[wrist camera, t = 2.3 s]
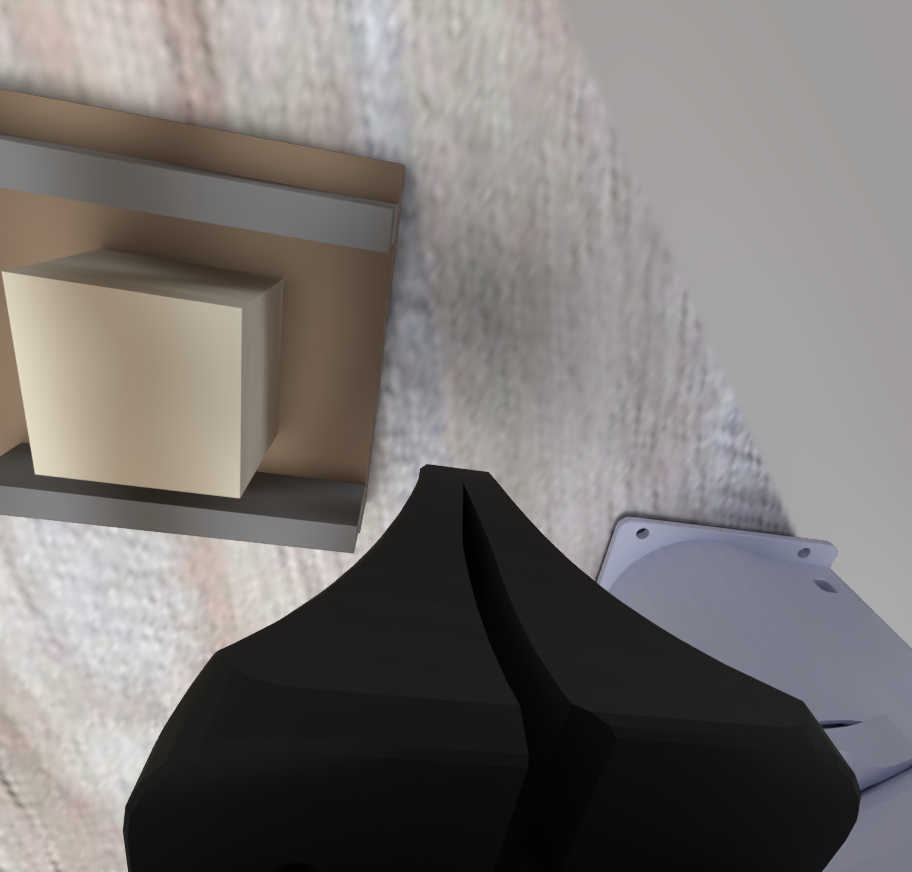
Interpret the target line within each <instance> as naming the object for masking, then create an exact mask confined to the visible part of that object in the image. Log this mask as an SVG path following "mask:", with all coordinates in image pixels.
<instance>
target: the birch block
mask: <svg viewBox="0 0 912 872" xmlns="http://www.w3.org/2000/svg"><path fill="white" fill-rule="evenodd" d="M2 277H3V283H4V289H5V295H6V301H7V308H8V314H9V320H10V326H11V332H12V338H13V344H14V350H15V356H16V362H17V368H18V374H19V380H20V386H21V392H22V399H23V405H24V411H25V417H26V423H27V429H28V435H29V441H30V447H31V453H32V459H33V465H34V471H35V474H37V475H45V476H54V477H62V478H71V479H79V480H88V481H96V482H105V483H113V484H122V485H130V486H139V487H147V488H156V489H164V490H173V491H181V492H190V493H198V494H207V495H215V496H224V497H232V498H241V496H242V494H243V492H244V491H245V489H246V487H247V485H248V484H249V482H250V480H251V479H252V477H253V475H254V473H255V472H256V470H257V468H258V467H259V465H260V463H261V461H262V460H263V458H264V456H265V455H266V453H267V451H268V449H269V448H270V446H271V444H272V442H273V441H274V439H275V437H276V436H277V434H278V410H279V385H280V360H281V335H282V310H283V285H284V278H279V277H273V276H267V275H261V274H255V273H248V272H242V271H236V270H230V269H224V268H217V267H211V266H205V265H199V264H193V263H186V262H180V261H174V260H168V259H162V258H155V257H149V256H143V255H137V254H131V253H124V252H118V251H112V250H106V249H97V250H93V251H88V252H84V253H80V254H75V255H71V256H67V257H62V258H58V259H54V260H49V261H45V262H40V263H36V264H32V265H27V266H23V267H19V268H14V269H10V270H5V271H2Z"/></svg>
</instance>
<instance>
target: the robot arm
mask: <svg viewBox="0 0 912 872" xmlns="http://www.w3.org/2000/svg"><path fill="white" fill-rule="evenodd" d="M641 528H646V529H645V530H644V532H642V533H637V531H638V530H639V529H641ZM803 548H804V549H803ZM801 549H803V550H802V551H800V550H801ZM799 551H800V552H799ZM836 556H837V549H836V547H835V546H834V545H832V544H831V543H830V542H828V541H823V540H815V539H807V538H799V537H791V536H783V535H775V534H767V533H758V532H750V531H742V530H734V529H726V528H718V527H710V526H702V525H694V524H685V523H677V522H669V521H661V520H653V519H645V518H637V517H626V518H623V519H621V520H620V521H619V522H618V523H617V525H616V527H615V530H614V533H613V536H612V539H611V542H610V545H609V548H608V551H607V554H606V557H605V559H604V562H603V565H602V568H601V571H600V574H599V577H598V580H597V583H596V582H595V581H594V580H593V579H592V578H590V577H589V576H588V575H587V574H585V573H584V572H583V571H582V570H580V569H579V568H578V567H577V566H576V565H575V564H573V563H572V562H571V561H570V560H569V559H568V558H567V557H566V556H565V555H564V554H563V553H562V552H560V551H559V550H558V549H557V548H556V547H555V546H554V545H553V544H552V543H551V542H550V541H549V540H548V539H547V538H546V537H545V536H544V535H543V534H542V533H541V532H540V531H539V530H538V529H537V528H536V527H535V525H534V524H533V523H532V522H531V521H530V520H529V519H528V518H527V517H526V516H525V514H524V513H523V512H522V511H521V510H520V509H519V508H518V506H517V505H516V504H515V503H514V502H513V501H512V499H511V498H510V497H509V496H508V495H507V493H506V492H505V491H504V490H503V489H502V487H501V486H500V485H499V484H498V482H497V481H496V480H495V479H494V478H493V477H492V475H491V474H490V473H489V472H483V471H476V470H468V469H460V468H452V467H445V466H437V465H429V464H426V465H425V466H423V467H422V468H420V473H419V479H418V482H417V484H416V486H415V488H414V490H413V492H412V494H411V496H410V497H409V499H408V501H407V502H406V504H405V505H404V507H403V509H402V510H401V512H400V513H399V515H398V516H397V517H396V519H395V520H394V521H393V523H392V524H391V525H390V526H389V528H388V529H387V530H386V531H385V533H384V534H383V535H382V537H381V538H380V539H379V540H378V541H377V542H376V543H375V544H374V546H373V547H372V548H371V549H370V550H369V551H368V552H367V553H366V554H365V555H364V556H363V557H362V558H361V559H360V560H359V561H358V562H357V563H356V564H355V565H354V566H352V567H351V568H350V569H349V570H348V571H347V572H345V573H344V574H343V575H342V576H341V577H340V578H338V579H337V580H336V581H335V582H334V583H333V584H331V585H330V586H329V587H327V588H326V589H325V590H323V591H322V592H321V593H319V594H318V595H317V596H315V597H314V598H312V599H311V600H309V601H308V602H306V603H305V604H303V605H302V606H300V607H299V608H297V609H296V610H294V611H293V612H291V613H290V614H288V615H287V616H285V617H284V618H282V619H280V620H279V621H277V622H275V623H273V624H271V625H269V626H267V627H265V628H263V629H262V630H260V631H258V632H256V633H254V634H252V635H250V636H248V637H246V638H244V639H242V640H240V641H238V642H236V643H234V644H232V645H229V646H227V647H225V648H223V649H221V650H219V651H217V652H216V653H215V654H214V655H213V656H212V657H211V659H210V660H209V661H208V663H207V664H206V665H205V667H204V668H203V669H202V671H201V672H200V674H199V675H198V676H197V678H196V679H195V680H194V682H193V683H192V684H191V686H190V687H189V689H188V690H187V692H186V694H185V695H184V697H183V698H182V700H181V701H180V703H179V704H178V706H177V707H176V709H175V710H174V712H173V713H172V715H171V717H170V718H169V720H168V722H167V723H166V725H165V726H164V728H163V730H162V732H161V733H160V735H159V737H158V739H157V741H156V743H155V745H154V747H153V749H152V751H151V753H150V755H149V757H148V760H147V762H146V764H145V766H144V768H143V770H142V772H141V774H140V776H139V779H138V781H137V783H136V785H135V787H134V789H133V791H132V793H131V796H130V798H129V800H128V802H127V804H126V806H125V816H124V826H123V835H124V843H125V850H126V858H127V866H128V872H912V648H910V647H909V645H908V644H907V643H906V642H904V641H903V640H902V639H901V638H900V637H899V636H898V635H897V634H896V633H895V632H894V631H893V630H892V629H891V628H890V627H889V626H888V625H887V624H886V623H885V622H884V621H883V620H882V619H881V618H880V617H879V616H878V615H877V614H876V613H875V612H874V611H873V610H872V609H871V608H870V607H869V606H868V605H867V604H866V603H865V602H864V601H863V600H862V599H861V598H860V597H859V596H858V595H857V594H856V593H855V592H854V591H853V590H852V589H851V588H849V586H848V585H847V584H845V583H844V582H843V581H842V580H841V579H840V578H839V577H838V576H837V575H836V574H835V573H834V572H833V571H832V570H831V569H830V567H831V565H832V563H833V562H834V559H835V558H836Z"/></svg>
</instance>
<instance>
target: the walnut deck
mask: <svg viewBox="0 0 912 872" xmlns="http://www.w3.org/2000/svg"><path fill="white" fill-rule="evenodd" d="M405 167H406V166H405V165H402V164H397V163H392V162H386V161H381V160H376V159H370V158H365V157H360V156H354V155H349V154H344V153H338V152H333V151H328V150H322V149H317V148H312V147H306V146H301V145H296V144H290V143H285V142H280V141H274V140H269V139H264V138H258V137H253V136H248V135H242V134H237V133H232V132H226V131H221V130H216V129H210V128H205V127H200V126H194V125H189V124H184V123H178V122H173V121H168V120H162V119H157V118H152V117H146V116H141V115H136V114H130V113H125V112H120V111H114V110H109V109H104V108H98V107H93V106H88V105H82V104H77V103H72V102H66V101H61V100H56V99H50V98H45V97H40V96H34V95H29V94H24V93H18V92H13V91H8V90H2V89H0V515H8V516H17V517H26V518H35V519H45V520H54V521H63V522H72V523H81V524H90V525H99V526H108V527H118V528H127V529H136V530H145V531H154V532H163V533H172V534H182V535H191V536H200V537H209V538H218V539H227V540H236V541H246V542H255V543H264V544H273V545H282V546H291V547H300V548H309V549H319V550H328V551H337V552H346V553H354V550H355V545H356V540H357V535H358V533H360V529H361V524H362V519H363V514H364V509H365V503H366V495H367V487H368V478H369V470H370V461H371V453H372V445H373V436H374V428H375V419H376V411H377V403H378V394H379V386H380V377H381V369H382V361H383V352H384V344H385V335H386V327H387V318H388V310H389V302H390V293H391V285H392V276H393V268H394V260H395V251H396V243H397V234H398V226H399V218H400V209H401V201H402V192H403V184H404V176H405ZM97 249H106V250H112V251H118V252H124V253H131V254H137V255H143V256H149V257H155V258H162V259H168V260H174V261H180V262H186V263H193V264H199V265H205V266H211V267H217V268H224V269H230V270H236V271H242V272H248V273H255V274H261V275H267V276H273V277H279V278H284V285H283V310H282V335H281V360H280V385H279V410H278V434H277V436H276V437H275V439H274V441H273V442H272V444H271V446H270V448H269V449H268V451H267V453H266V455H265V456H264V458H263V460H262V461H261V463H260V465H259V467H258V468H257V470H256V472H255V473H254V475H253V477H252V479H251V480H250V482H249V484H248V485H247V487H246V489H245V491H244V492H243V494H242V496H241V498H232V497H224V496H215V495H207V494H198V493H190V492H181V491H173V490H164V489H156V488H147V487H139V486H130V485H122V484H113V483H105V482H96V481H88V480H79V479H71V478H62V477H54V476H45V475H37V474H35V471H34V465H33V459H32V453H31V447H30V441H29V435H28V429H27V423H26V417H25V411H24V405H23V399H22V392H21V386H20V380H19V374H18V368H17V362H16V356H15V350H14V344H13V338H12V332H11V326H10V320H9V314H8V308H7V301H6V295H5V289H4V283H3V277H2V271H5V270H10V269H14V268H19V267H23V266H27V265H32V264H36V263H40V262H45V261H49V260H54V259H58V258H62V257H67V256H71V255H75V254H80V253H84V252H88V251H93V250H97Z"/></svg>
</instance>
